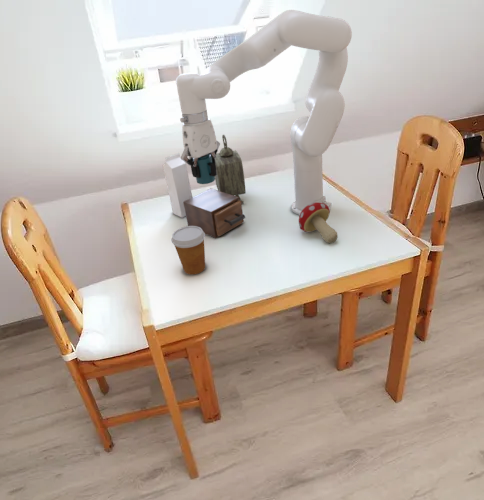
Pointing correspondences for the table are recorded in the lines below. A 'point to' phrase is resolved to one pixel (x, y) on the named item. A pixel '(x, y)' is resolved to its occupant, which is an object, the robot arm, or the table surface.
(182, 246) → the disposable coffee cup
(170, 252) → the table surface
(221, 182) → the green bell
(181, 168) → the milk
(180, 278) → the table surface
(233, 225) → the drawer
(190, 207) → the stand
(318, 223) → the decorative mushroom
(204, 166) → the kettle
